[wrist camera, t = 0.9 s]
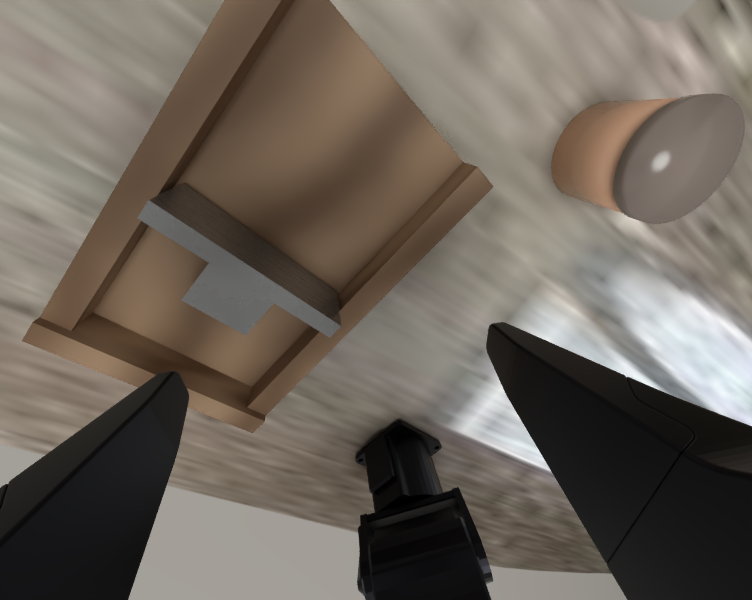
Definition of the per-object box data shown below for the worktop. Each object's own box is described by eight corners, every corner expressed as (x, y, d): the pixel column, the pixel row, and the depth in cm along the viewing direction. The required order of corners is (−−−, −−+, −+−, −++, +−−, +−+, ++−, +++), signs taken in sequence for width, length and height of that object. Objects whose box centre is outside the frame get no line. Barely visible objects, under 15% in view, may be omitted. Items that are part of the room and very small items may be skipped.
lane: (471, 177, 20) (497, 188, 17) (260, 397, 26) (252, 433, 23) (282, -49, 14) (272, -94, 11) (66, 307, 20) (21, 340, 17)
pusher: (337, 292, 21) (341, 326, 18) (291, 341, 23) (287, 381, 19) (183, 182, 17) (148, 199, 13) (138, 252, 18) (95, 284, 15)
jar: (649, 149, 21) (755, 160, 16) (574, 216, 23) (649, 245, 18) (614, 75, 19) (728, 59, 13) (533, 156, 20) (607, 169, 15)
